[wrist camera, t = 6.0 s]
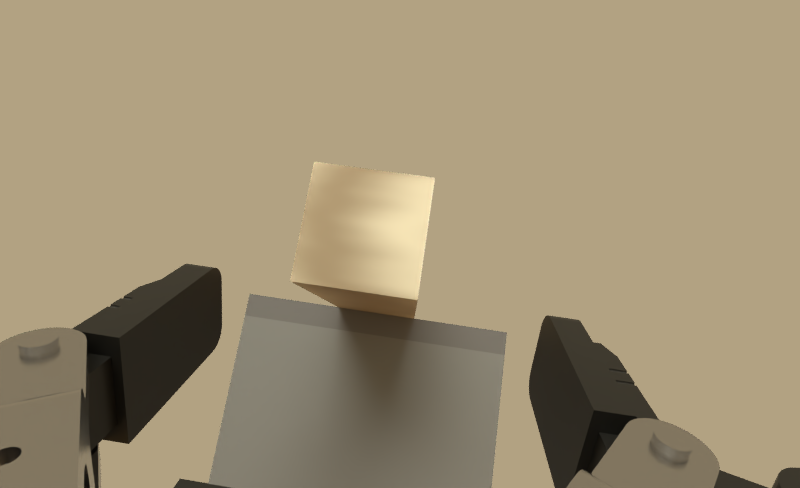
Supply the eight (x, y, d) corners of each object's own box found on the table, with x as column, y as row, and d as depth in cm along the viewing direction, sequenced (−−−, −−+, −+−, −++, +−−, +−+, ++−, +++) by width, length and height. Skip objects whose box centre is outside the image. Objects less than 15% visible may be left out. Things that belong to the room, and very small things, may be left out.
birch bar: (290, 281, 13) (314, 161, 13) (366, 322, 35) (373, 276, 36) (417, 300, 12) (434, 178, 13) (412, 328, 35) (418, 283, 36)
